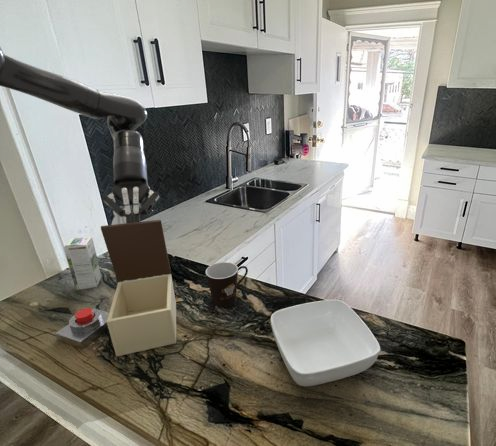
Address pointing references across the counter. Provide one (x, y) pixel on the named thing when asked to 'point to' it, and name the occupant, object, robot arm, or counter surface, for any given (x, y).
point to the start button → (84, 316)
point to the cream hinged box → (143, 315)
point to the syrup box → (83, 262)
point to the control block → (84, 330)
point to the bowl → (323, 341)
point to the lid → (137, 249)
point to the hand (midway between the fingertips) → (134, 230)
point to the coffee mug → (223, 282)
